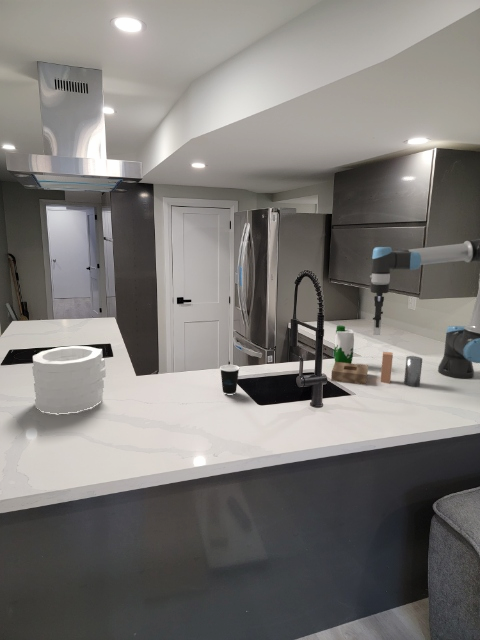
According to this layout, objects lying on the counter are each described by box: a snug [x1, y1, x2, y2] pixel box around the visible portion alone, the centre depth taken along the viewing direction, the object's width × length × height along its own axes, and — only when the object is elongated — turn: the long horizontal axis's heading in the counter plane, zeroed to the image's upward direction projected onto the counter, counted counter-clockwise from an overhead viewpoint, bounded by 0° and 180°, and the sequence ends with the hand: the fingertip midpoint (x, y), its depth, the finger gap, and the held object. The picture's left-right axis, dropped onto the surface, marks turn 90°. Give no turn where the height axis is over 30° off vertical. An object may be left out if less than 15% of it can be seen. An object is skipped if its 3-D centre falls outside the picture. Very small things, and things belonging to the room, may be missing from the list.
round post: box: [403, 355, 423, 388], centre depth 180 cm, size 6×6×12 cm
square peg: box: [380, 351, 394, 384], centre depth 183 cm, size 4×4×13 cm
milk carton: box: [333, 325, 355, 364], centre depth 205 cm, size 9×9×20 cm
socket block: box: [330, 361, 369, 386], centre depth 189 cm, size 15×15×4 cm
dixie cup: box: [219, 364, 241, 394], centre depth 166 cm, size 8×8×11 cm
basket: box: [32, 345, 107, 414], centre depth 155 cm, size 25×24×19 cm
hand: (377, 331), depth 182 cm, fingers open, 13 cm apart
